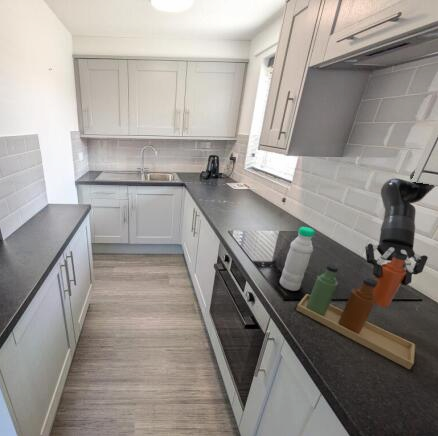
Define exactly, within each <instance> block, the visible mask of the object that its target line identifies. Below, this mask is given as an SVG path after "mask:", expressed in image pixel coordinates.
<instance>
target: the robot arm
mask: <svg viewBox="0 0 438 436" xmlns="http://www.w3.org/2000/svg"><path fill="white" fill-rule="evenodd" d="M415 170H416V169H414V170H413V171H412V172H411V173H410V175H409V179H410V180H411V179H412V178H413V176H414V173H415ZM435 187H436V186H434V185H429V184H423V183H416V182H412V181H409V180H405V179H402V178H390V179H388V180H387V181H385V182H384V183H383V184H382V186H381V189H380V198H381V201H382V205H383V207H384V215H383V221H382V223H381V226H380V235H379V240H378V245H375V244H372V243H368V244H366V246H365V247H364V249H365V256H366V257H365V258H366V262H367V263H368V264H371V265H373V268H372V269H373V271H372V275H373V276H374V278H375V279H376V278H379V277H381V271H382V265H383V264H384V263H385V261H388V262H391V260H392V258H393V255H394V253H395V252H399V253H403V254H405V255H407V256H408V257H407V259H406V260H405V262H404V264H403V267H404V270H405V271H406V275H405V277H404V279H403V281H402V283H401V285H402V286H407V285H409V284H411V283H412V278H413V275H419V274H421V273H423V270H424V268H425V266H426V263H427V261H428V259H429V256H427V255H426V254H425V255H423V254H422V255H420V254H418V253H415V251H414V244H415V236H416V235H415V234H416V213H417V212H416V207H415V205H413V204H415V203H417V202H420V201H421V200H423V199H424V198H425V197H426V196H427V195H428V194H429V193H430V192H431V191H432V190H433V189H434V188H435ZM376 250H377V252H378V253H379V255H380V256H379V258H377V259H375V252H376ZM411 258H413V260H414V265H413V266H414V267H412V262H411V260H410V259H411Z"/></svg>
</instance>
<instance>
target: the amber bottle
mask: <svg viewBox="0 0 438 436" xmlns="http://www.w3.org/2000/svg"><path fill="white" fill-rule="evenodd" d="M376 286H377V282H376V281H375V279H373V278H369V277H364V279H363V280H362V285H361V286H360V287H358V288H355V289H352V291H351V293H350V295H349V298H348V299H347V302H346V303H345V306H344V308H343V309H342V310H343V313H342V315H341V317H340V319H339V322H338V323H339V325H341V326H343V327H345V328H347V329H349V330H351V331H353V332H355V333H357V334H359V333H360V332H361V330H362V328H363V326H364V324H365V322H366V321H367V320H368V318H369V315H370V314H371V312H372V310H373V308H374V306H375V305H376V304H375V302H376V298H375V297H374V293H373V290H374V288H375V287H376Z"/></svg>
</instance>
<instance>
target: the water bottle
mask: <svg viewBox="0 0 438 436" xmlns="http://www.w3.org/2000/svg"><path fill="white" fill-rule="evenodd" d="M297 234H298V236H297V237H295V238H294V240H292V241H291V243H290V246H289V249H288V252H287V255H286V259H285V261H284V262H285V263H284V267H283V269H282V272H281V276H280V278H279V284H280V286H281V287H282V288H284V289H286V290H288V291H290V292H291V291H292V292H295V291H296V292H297V291H299V290H300V289H301V286H302V283H303V282H302V281H303V279H304V277H305V273H306V271H307V268H308V265H309V262H310V260H311V255H312V253H313V251H314V246H313V241H312V238H313V237H314V236H315V230H314V229H313V228H311V227H307V226H301V227H299V229H298V231H297Z"/></svg>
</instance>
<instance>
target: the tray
mask: <svg viewBox="0 0 438 436" xmlns="http://www.w3.org/2000/svg"><path fill="white" fill-rule="evenodd" d="M310 296H311V294H309V293H306V294H305V295H304V296H303V297H302V298H301V300H300V301H299V302H298V304H297V305H296V309H295V310H296V311H297V312H299V313H301V314H302V315H305V316H307V317H309V318H311V319H312V320H315V321H316V322H319V323H320V324H322V325H324V326H326V327H328V328H330V329H331V330H333V331H335V332H337V333H339V334H341V335H342V336H345V337H346V338H348V339H350V340H352V341H354V342H356V343H358V344H360V345H362V346H364V347H366V348H368V349H370V350H371V351H373V352H375V353H377V354H378V355H381V356H383V358H384V357H385V358H386V359H388V360H390V361H392V362H394V363H395V364H398V365H399V366H402V367H404V368H405V369H407V370H411V369H412V368H413V366H414V364H415V351H416V344H415V343H413V342H411V341H409V340H407V339H404V338H403V337H400V336H399V335H396V334H395V333H392V332H390V331H388V330H386V329H383V328H382V327H380V326H377V325H375V324H373V323H371V322H369V321H367V320H366V322H365V324H364V326H363V328H362V330H361V332H360V333H359V334H357V333H355V332H353V331H351V330H349V329H347V328H345V327H343V326H341V325H339V323H338V322H339V319H340V317H341V315H342V313H343V310H344V309H341V308H339V307H336V306H335V305H332V304H331V303H330V304H329V307H328V309H327V312H326V314H325V315H324V316H321V315H319V314H317V313H315V312H313V311H311V310H309V309H307V304H308V301H309V298H310Z"/></svg>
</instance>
